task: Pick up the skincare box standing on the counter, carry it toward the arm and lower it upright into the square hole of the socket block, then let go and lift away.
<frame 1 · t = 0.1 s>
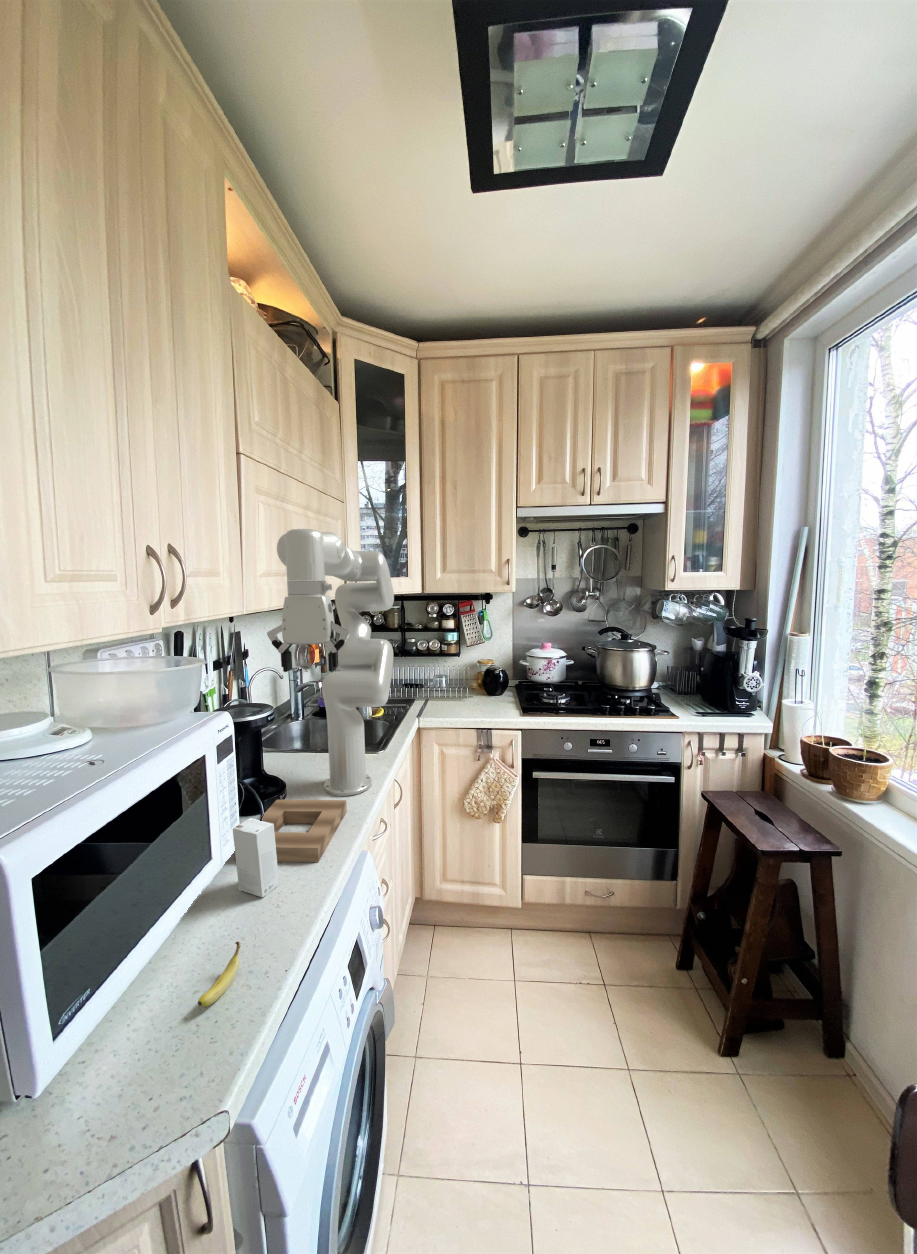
hand: (310, 670, 99), 37 cm above the worktop, tool pointing down, fingers open, 9 cm apart
socket block: (296, 834, 104), on the worktop
skincare box: (258, 888, 86), on the worktop
banana: (222, 990, 65), on the worktop
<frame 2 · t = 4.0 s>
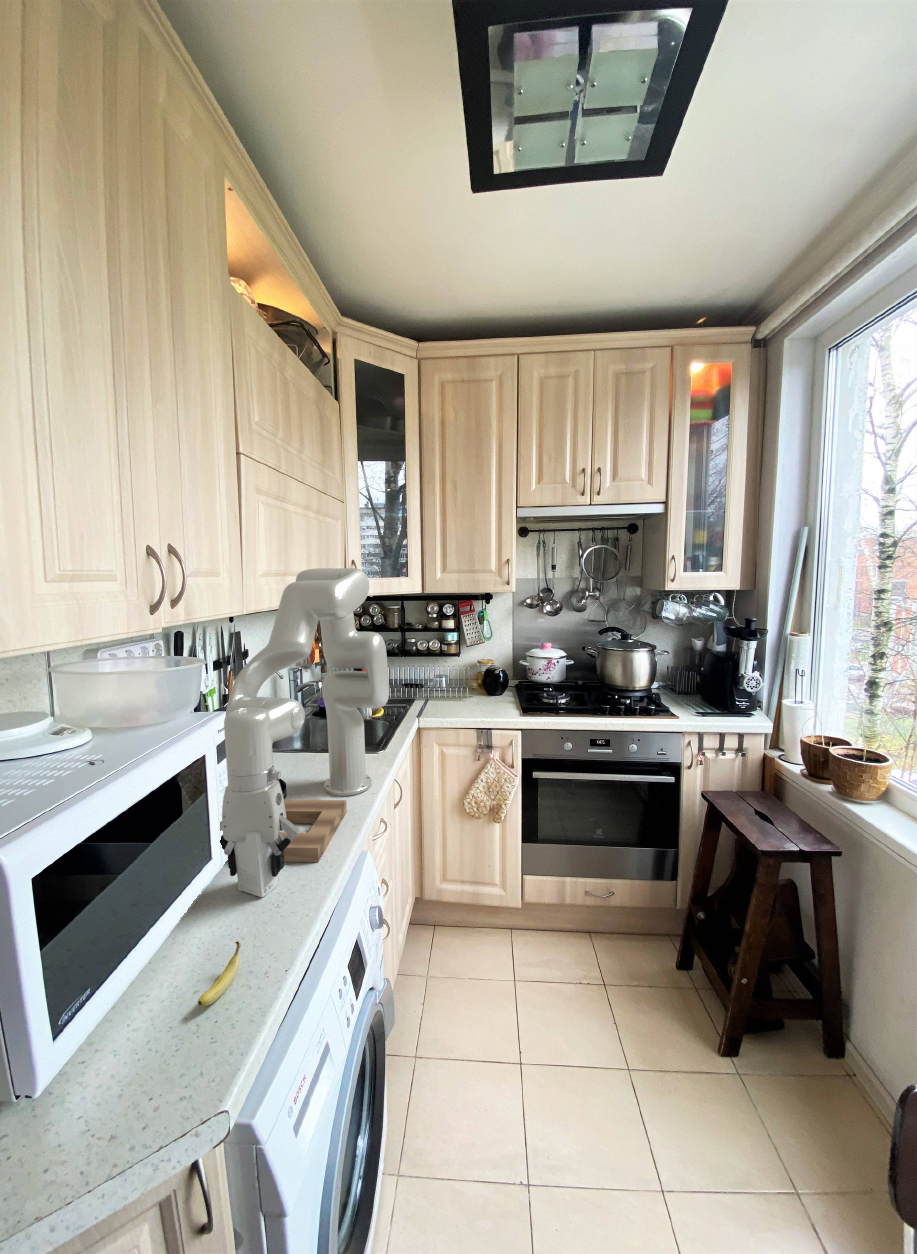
hand: (257, 870, 85), 3 cm above the worktop, tool pointing down, fingers closed on skincare box, 7 cm apart
skincare box: (257, 888, 86), on the worktop, touching gripper
everything else where it was.
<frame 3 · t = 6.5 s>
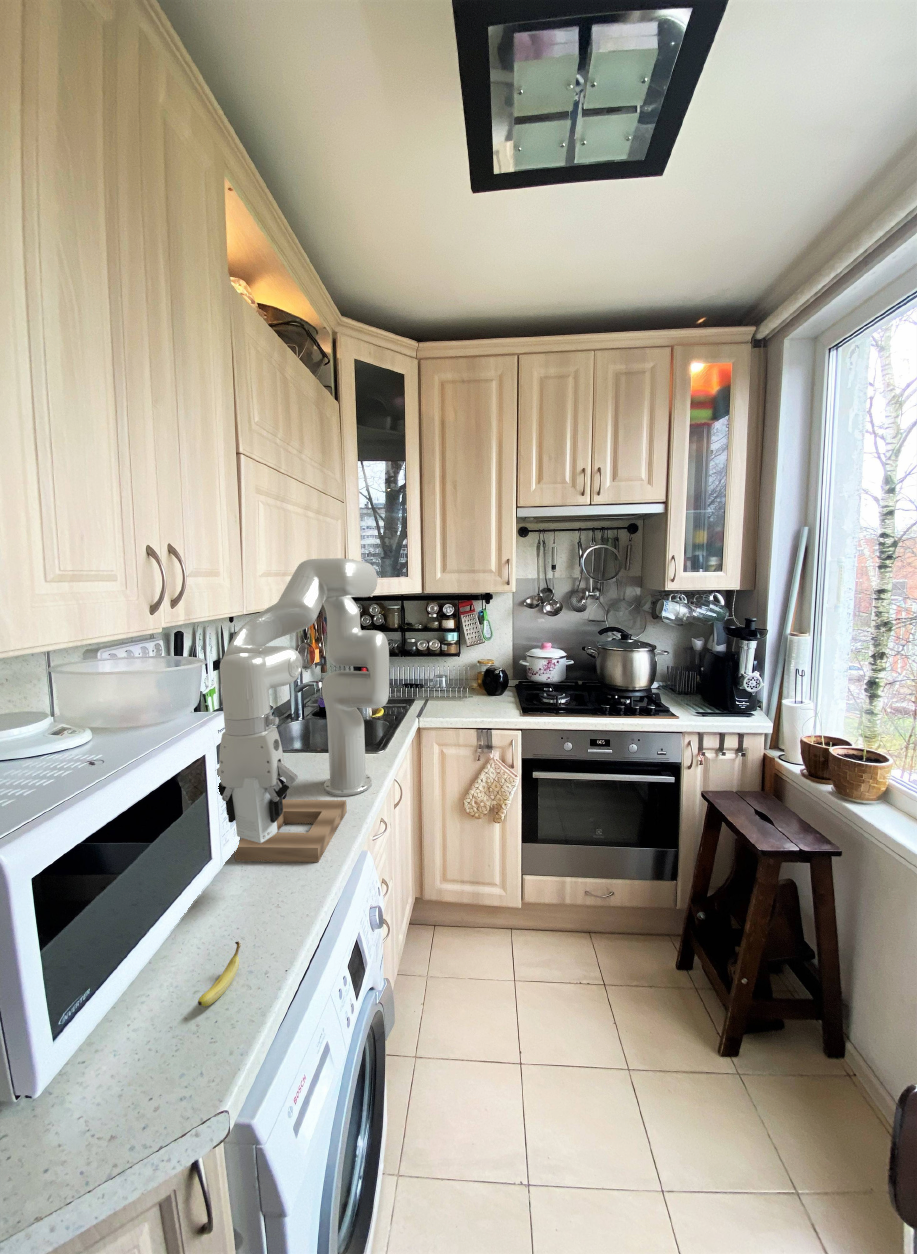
hand: (255, 817, 85), 13 cm above the worktop, tool pointing down, fingers closed on skincare box, 7 cm apart
skincare box: (256, 836, 85), point 10 cm above the worktop, touching gripper
everything else where it was.
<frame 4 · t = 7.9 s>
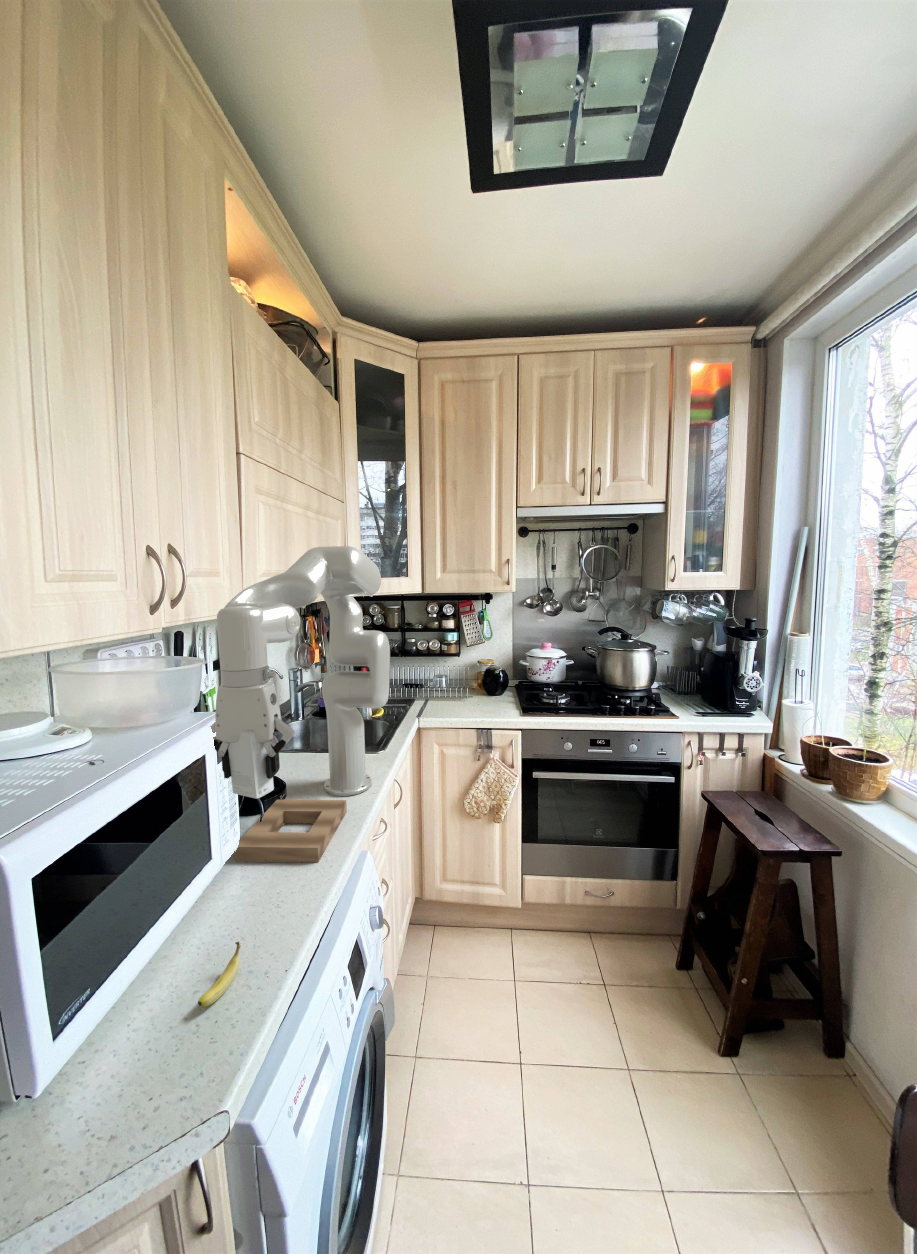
hand: (251, 774, 84), 21 cm above the worktop, tool pointing down, fingers closed on skincare box, 7 cm apart
skincare box: (252, 793, 84), point 18 cm above the worktop, touching gripper
everything else where it was.
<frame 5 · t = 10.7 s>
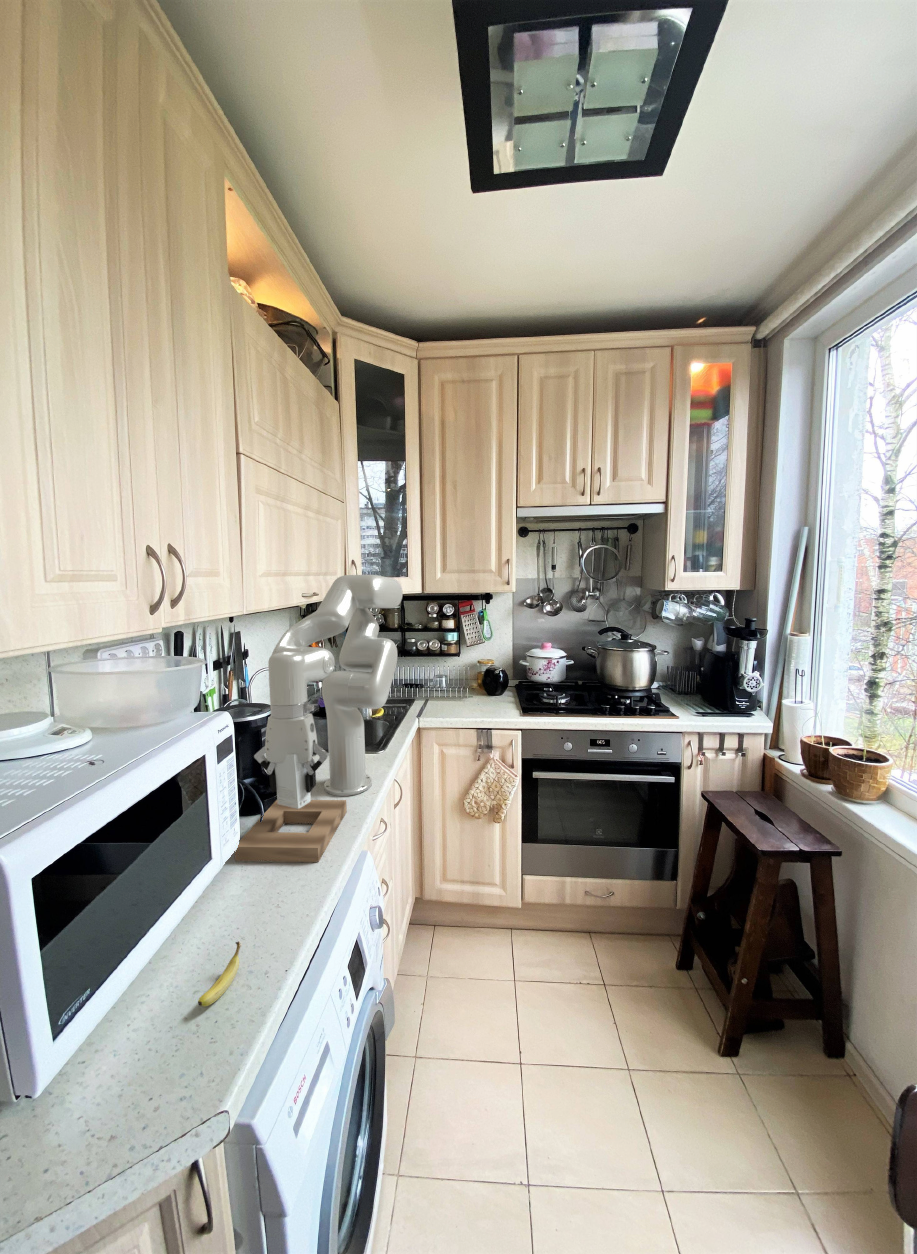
hand: (293, 789, 102), 10 cm above the worktop, tool pointing down, fingers closed on skincare box, 7 cm apart
skincare box: (293, 804, 103), point 7 cm above the worktop, touching gripper
everything else where it was.
when the fingers open (5 cm above the worktop, at t = 13.0 s): skincare box drops 1 cm, resting in socket block.
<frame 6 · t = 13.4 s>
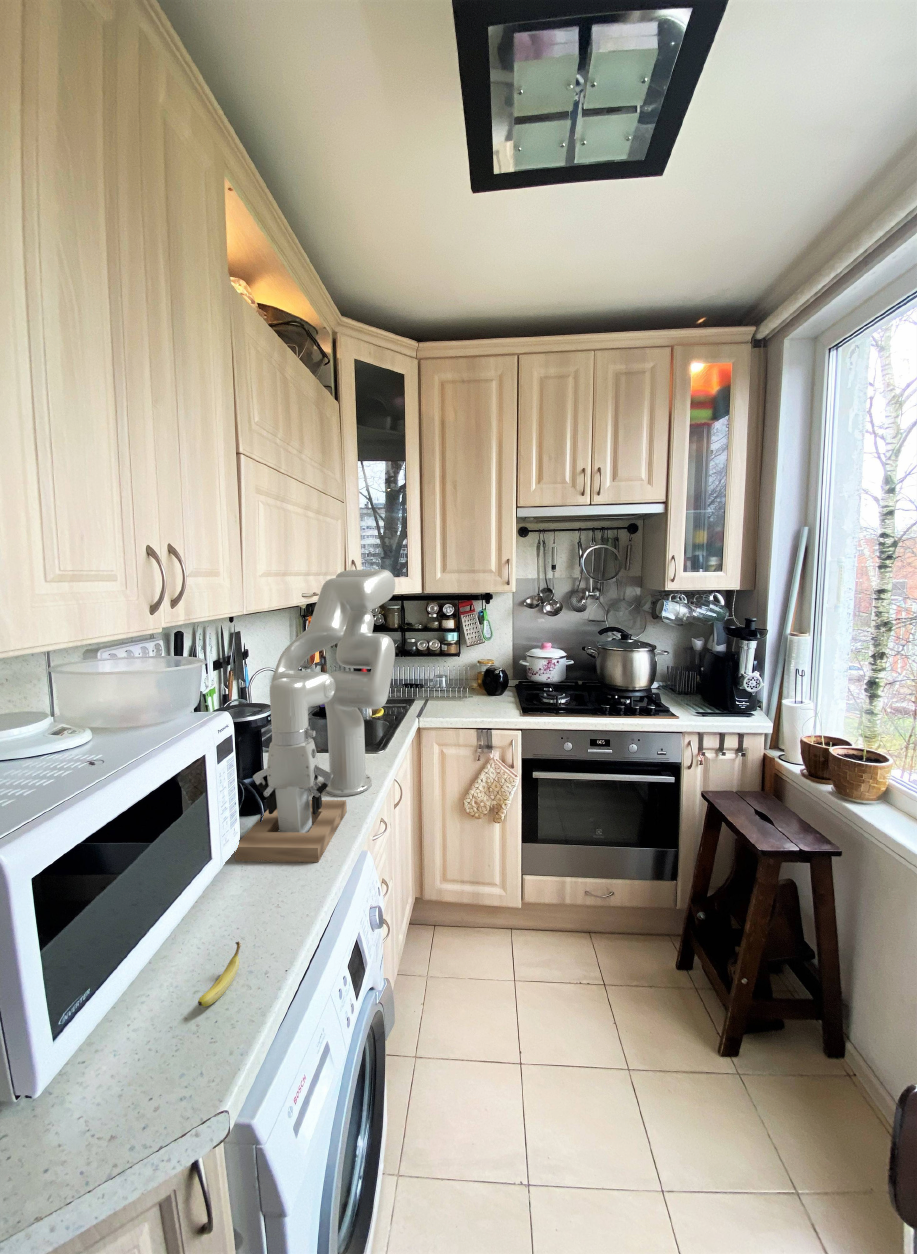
hand: (294, 811, 103), 5 cm above the worktop, tool pointing down, fingers open, 9 cm apart
skincare box: (295, 834, 104), resting in socket block
everything else where it was.
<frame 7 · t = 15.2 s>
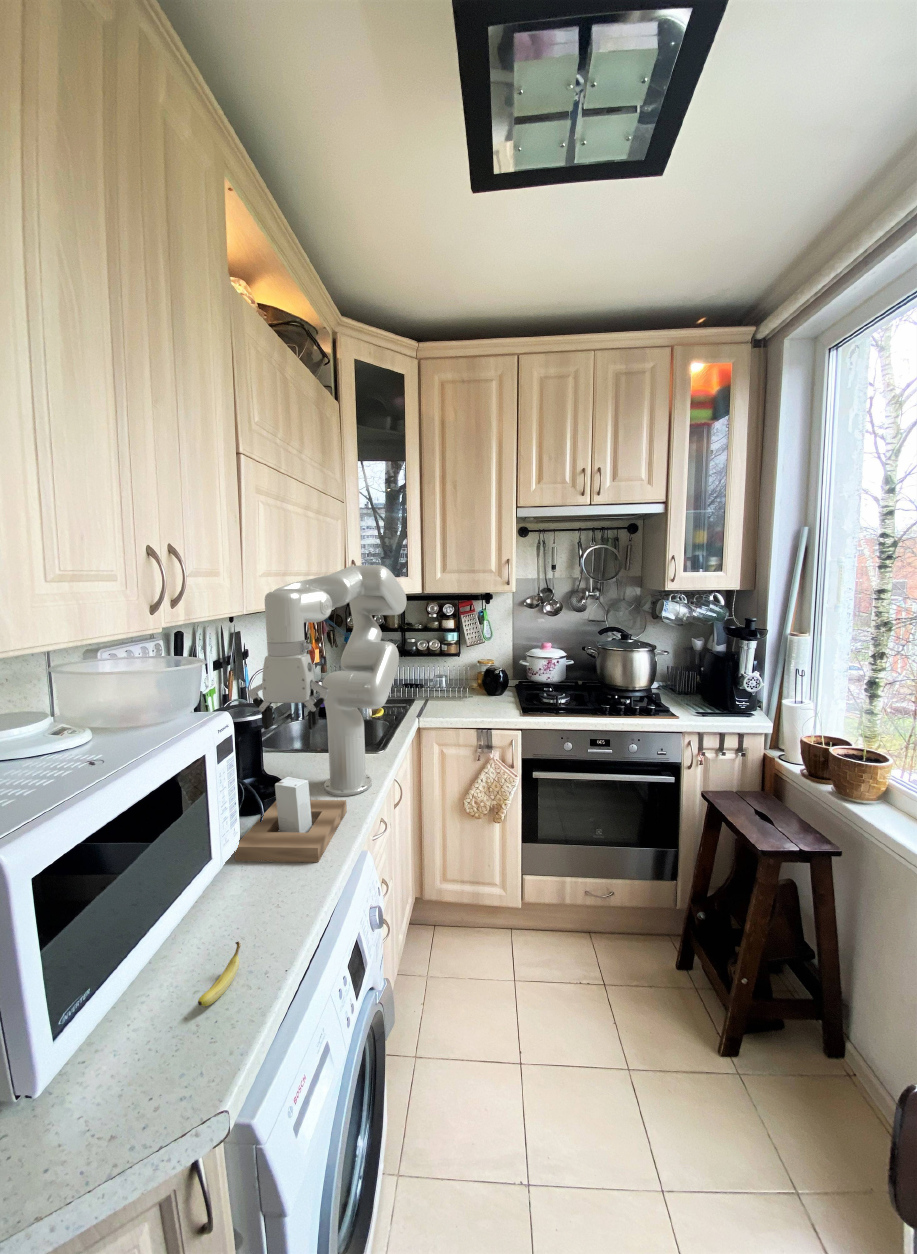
hand: (290, 727, 101), 24 cm above the worktop, tool pointing down, fingers open, 9 cm apart
nothing on the worktop moved.
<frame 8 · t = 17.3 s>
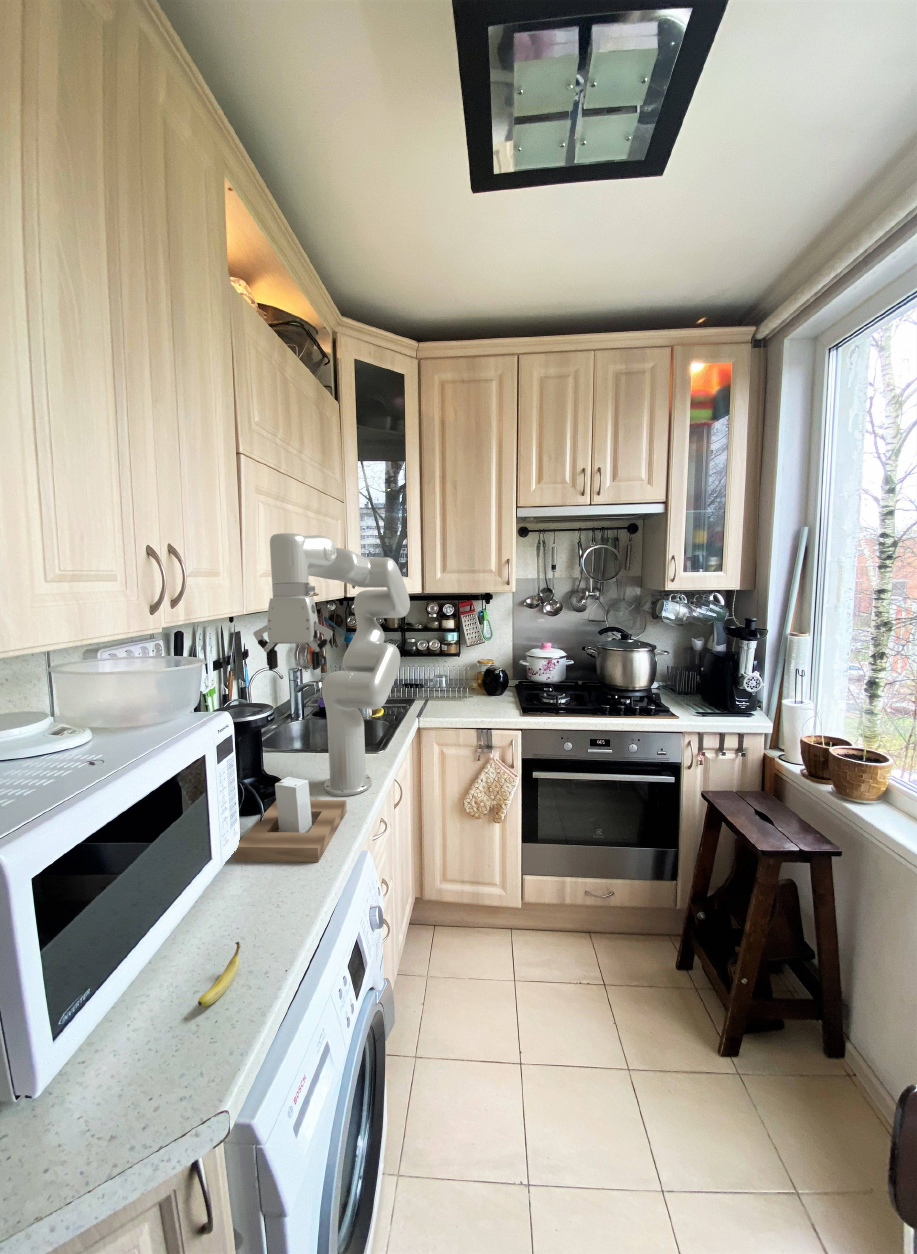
hand: (294, 668, 104), 36 cm above the worktop, tool pointing down, fingers open, 9 cm apart
nothing on the worktop moved.
at the end: skincare box 0.2 cm off-centre on the socket block, point 0.0 cm above the socket block's base; skincare box tilted 0°; the gripper is holding nothing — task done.
